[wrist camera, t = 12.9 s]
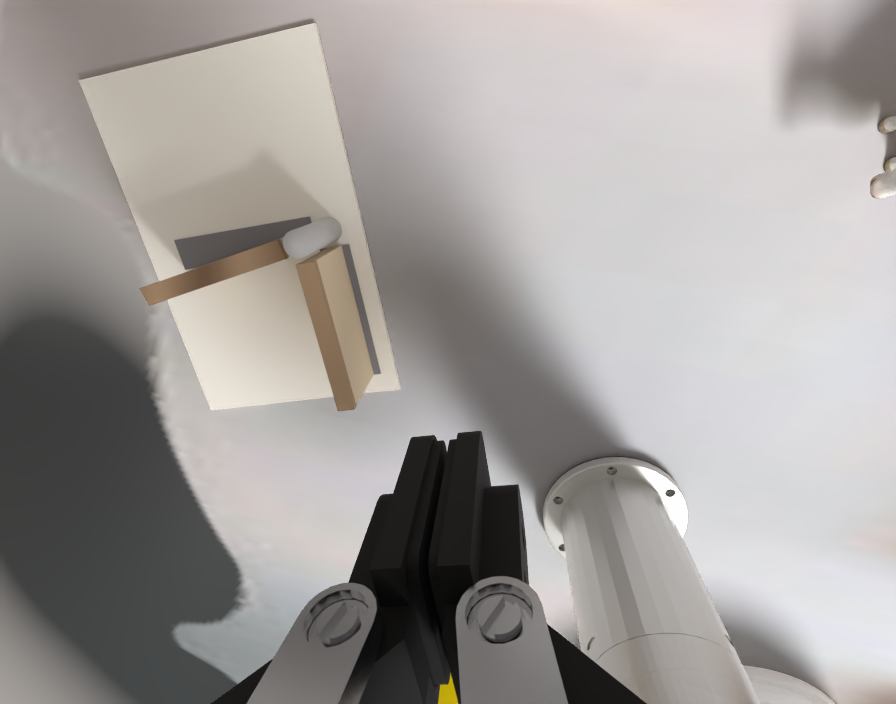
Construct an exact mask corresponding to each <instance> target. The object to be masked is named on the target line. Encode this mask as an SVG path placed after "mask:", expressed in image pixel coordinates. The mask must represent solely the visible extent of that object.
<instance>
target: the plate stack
mask: <svg viewBox="0 0 896 704" xmlns="http://www.w3.org/2000/svg"><path fill="white" fill-rule="evenodd" d="M743 667H744V669H745V671H746V673H747V675H748V677H749V679H750V682H751V684H752V686H753V688H754V690H755V692H756V694H757V696H758V698H759V700H760V703H761V704H835V703H834V702H833V701H832V700H831V699H830V698H829V697H828V696H827V695H825V694H824V693H823V692H821V691H820V690H818V689H817V688H815V687H814V686H812V685H810V684H808V683H806V682H804V681H802V680H800V679H798V678H795V677H793V676H790V675H787V674H784V673H781V672H777V671H774V670H769V669H765V668H760V667H753V666H746V665H743Z"/></svg>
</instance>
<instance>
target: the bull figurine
mask: <svg viewBox="0 0 896 704" xmlns="http://www.w3.org/2000/svg"><path fill="white" fill-rule="evenodd" d="M878 129H879V132H881V133H888V132H891V131H895V130H896V115H895V116H892V117H888V118H885V119H883V120H882V121H881V122H880V124H879V127H878ZM884 170H885V171H886V172H887V173H882V174H879V175H877V176H875V177H874V178H872V179H871V182H870V193H871V196H872V197H873V198H876V199H881V198H884V197H888V196H891V195H896V157H892V158H890V159H888V160H887V161H886V163H885V165H884Z"/></svg>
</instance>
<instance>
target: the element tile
mask: <svg viewBox="0 0 896 704" xmlns="http://www.w3.org/2000/svg"><path fill="white" fill-rule="evenodd" d="M438 704H458V700H457V696H456V692H455V688H454V684H453V680H452V676H451V673H450V681H449V684H448V685H440V691H439V700H438Z"/></svg>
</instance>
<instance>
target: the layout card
mask: <svg viewBox="0 0 896 704" xmlns="http://www.w3.org/2000/svg"><path fill="white" fill-rule="evenodd" d="M79 82H80V85H81V87H82V90H83V92H84V95H85V97H86V100H87V102H88V105H89V107H90V110H91V112H92V115H93V117H94V120H95V122H96V125H97V127H98V130H99V132H100V135H101V137H102V140H103V142H104V145H105V147H106V150H107V152H108V155H109V157H110V160H111V162H112V165H113V167H114V170H115V172H116V175H117V177H118V180H119V182H120V185H121V187H122V190H123V192H124V195H125V197H126V200H127V202H128V205H129V207H130V210H131V212H132V215H133V217H134V220H135V222H136V224H137V227H138V229H139V232H140V234H141V237H142V239H143V242H144V244H145V247H146V249H147V252H148V254H149V257H150V259H151V262H152V264H153V267H154V269H155V272H156V274H157V277H158V279H159V281H162V280H165V279H168V278H171V277H173V276H176V275H179V274H182V273H184V272H187V271H190V270H193V269H195V268H198V267H201V266H204V265H207V264H210V263H212V262H215V261H218V260H221V259H224V258H227V257H229V256H232V255H235V254H238V253H241V252H244V251H246V250H249V249H252V248H255V247H258V246H261V245H263V244H266V243H269V242H272V241H275V240H277V239H280V238H283V237H284V238H283V247H284V249H285V251H286V253H287V254H288V255H289V258H287V259H285V260H282V261H279V262H276V263H273V264H270V265H267V266H264V267H261V268H258V269H255V270H253V271H250V272H247V273H244V274H241V275H238V276H235V277H232V278H229V279H226V280H223V281H220V282H217V283H215V284H212V285H209V286H206V287H203V288H200V289H197V290H194V291H191V292H188V293H185V294H182V295H179V296H177V297H174V298H171V299H168V300H167V302H168V304H169V307H170V309H171V312H172V314H173V317H174V319H175V322H176V324H177V327H178V329H179V332H180V334H181V337H182V339H183V342H184V344H185V347H186V349H187V352H188V354H189V357H190V359H191V362H192V364H193V367H194V369H195V372H196V374H197V377H198V379H199V382H200V384H201V387H202V389H203V392H204V394H205V397H206V399H207V402H208V404H209V407H210V409H211V410H218V409H227V408H237V407H246V406H255V405H264V404H273V403H282V402H291V401H300V400H309V399H318V398H327V397H334V400H335V403H336V406H337V410H338V411H344V410H354V409H355V408H356V405H357V403H358V402H359V400H360V398H361V396H362V395H363V394H364V393H373V392H382V391H391V390H400V388H401V386H400V382H399V377H398V373H397V369H396V364H395V360H394V356H393V352H392V347H391V343H390V339H389V334H388V330H387V326H386V321H385V317H384V313H383V308H382V304H381V300H380V295H379V291H378V287H377V282H376V278H375V274H374V269H373V265H372V261H371V256H370V252H369V248H368V243H367V239H366V235H365V230H364V226H363V222H362V217H361V213H360V209H359V204H358V200H357V196H356V191H355V187H354V183H353V179H352V174H351V170H350V166H349V161H348V157H347V153H346V148H345V144H344V140H343V135H342V131H341V127H340V122H339V118H338V114H337V109H336V105H335V101H334V96H333V92H332V88H331V83H330V79H329V75H328V70H327V66H326V62H325V57H324V53H323V49H322V44H321V40H320V36H319V31H318V27H317V24H316V23H311V24H307V25H303V26H299V27H295V28H291V29H287V30H283V31H279V32H274V33H270V34H266V35H262V36H258V37H254V38H250V39H246V40H242V41H238V42H234V43H229V44H225V45H221V46H217V47H213V48H209V49H205V50H201V51H197V52H193V53H189V54H184V55H180V56H176V57H172V58H168V59H164V60H160V61H156V62H152V63H148V64H144V65H139V66H135V67H131V68H127V69H123V70H119V71H115V72H111V73H107V74H103V75H99V76H94V77H90V78H86V79H82V80H79Z"/></svg>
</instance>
